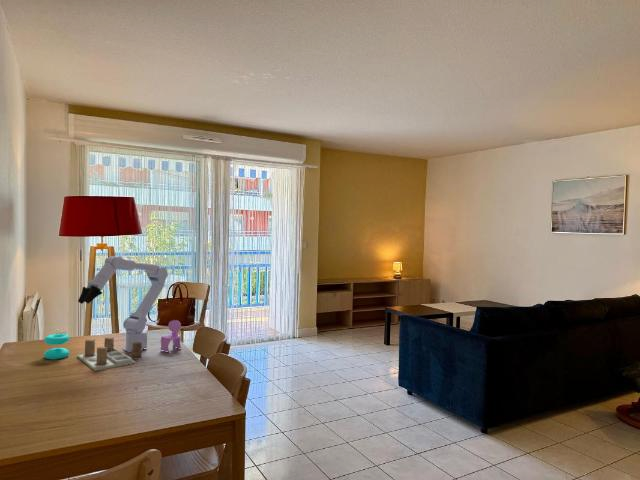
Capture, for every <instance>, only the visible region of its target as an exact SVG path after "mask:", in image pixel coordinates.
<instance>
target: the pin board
mask: <svg viewBox="0 0 640 480" xmlns="http://www.w3.org/2000/svg"><path fill="white" fill-rule="evenodd" d="M114 343H115V338H114V337H112V336H109V337H104V343H103V344H104V346H99V347H97V348H96V347H95V346H96V345H95V344H96V339H94V338H92V339H91V338H90V339H86V340H85V341H84V354H83V353H82V354H77V356H76V357H77V359H79V360H80V361H81V362H82V363H83V364H84V363H85V365H87V367H89V368H91V369H92V370H93V371H101V370H106V369H112V368H116V367H117V368H118V367H122V366H123V365H124V366H128V364H129V365H133V363H135V364H136V361H135V359H132V357H130V356H128V355H126V354H125V353H124V352H122V351H120V350H119V349H117V348H115V346H114V345H115V344H114ZM95 348H96V352H95Z"/></svg>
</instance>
